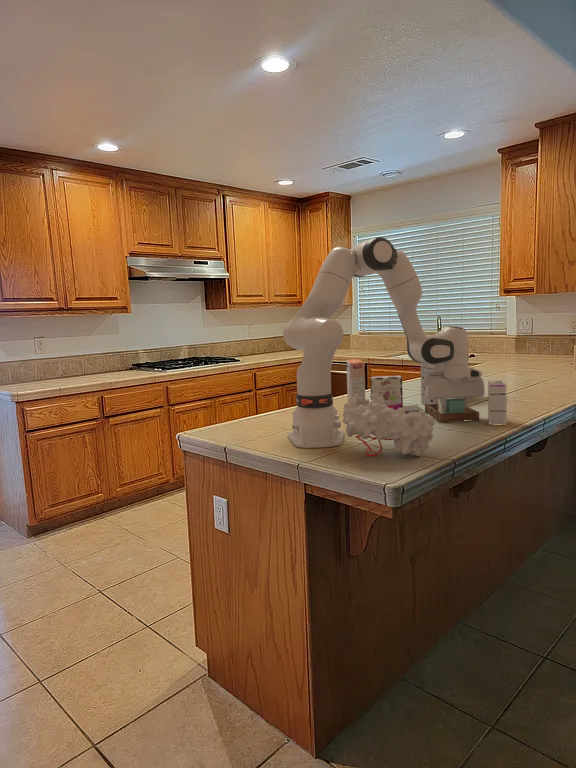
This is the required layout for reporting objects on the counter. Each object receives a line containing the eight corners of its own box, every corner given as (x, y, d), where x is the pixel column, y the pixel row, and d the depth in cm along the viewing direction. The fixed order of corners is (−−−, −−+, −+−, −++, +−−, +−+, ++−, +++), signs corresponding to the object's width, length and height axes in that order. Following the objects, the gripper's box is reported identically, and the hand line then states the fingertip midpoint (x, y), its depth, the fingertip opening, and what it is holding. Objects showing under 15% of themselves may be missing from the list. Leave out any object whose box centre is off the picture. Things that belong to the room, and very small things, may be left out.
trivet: (423, 415, 197) (423, 410, 196) (397, 416, 197) (397, 411, 196) (416, 410, 206) (416, 405, 206) (391, 411, 206) (391, 406, 206)
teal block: (463, 417, 185) (464, 400, 184) (449, 417, 185) (449, 401, 184) (459, 414, 190) (459, 398, 189) (445, 415, 190) (445, 398, 189)
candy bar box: (403, 419, 191) (402, 375, 188) (403, 422, 186) (402, 377, 184) (372, 419, 193) (371, 375, 191) (371, 422, 189) (370, 377, 186)
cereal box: (454, 396, 231) (454, 340, 228) (468, 398, 225) (468, 340, 222) (420, 403, 219) (420, 344, 216) (435, 405, 213) (434, 344, 210)
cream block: (455, 414, 195) (455, 398, 194) (442, 415, 195) (441, 399, 194) (451, 412, 200) (451, 396, 199) (438, 412, 200) (438, 397, 199)
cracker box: (366, 416, 198) (365, 362, 195) (350, 417, 199) (349, 362, 196) (362, 409, 212) (360, 358, 209) (347, 410, 212) (345, 359, 209)
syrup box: (506, 425, 174) (507, 382, 172) (488, 425, 176) (488, 382, 174) (505, 422, 179) (506, 380, 177) (487, 421, 181) (487, 380, 179)
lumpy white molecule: (384, 469, 158) (318, 430, 150) (412, 415, 160) (349, 375, 152) (420, 486, 140) (348, 444, 132) (452, 426, 141) (382, 380, 133)
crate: (479, 420, 183) (479, 412, 183) (439, 422, 183) (439, 414, 183) (461, 410, 202) (461, 402, 202) (425, 412, 202) (424, 404, 202)
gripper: (428, 374, 182) (427, 413, 184) (486, 372, 182) (486, 411, 184) (423, 372, 188) (423, 409, 190) (480, 370, 188) (479, 407, 190)
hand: (454, 410), depth 187 cm, fingers closed on teal block, 5 cm apart
